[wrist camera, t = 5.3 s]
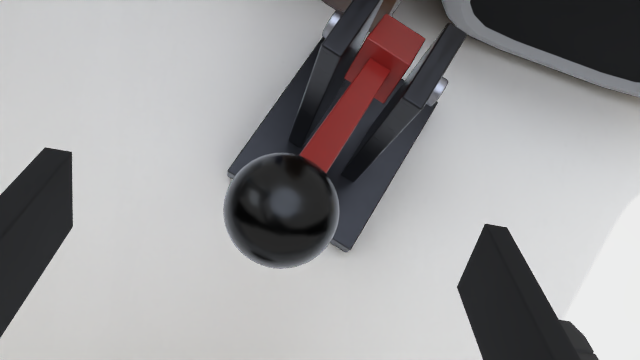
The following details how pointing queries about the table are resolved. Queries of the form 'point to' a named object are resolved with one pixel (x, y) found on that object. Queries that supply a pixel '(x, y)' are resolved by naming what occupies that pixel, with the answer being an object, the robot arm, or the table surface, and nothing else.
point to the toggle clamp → (373, 128)
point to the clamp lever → (313, 163)
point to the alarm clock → (561, 35)
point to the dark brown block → (387, 7)
